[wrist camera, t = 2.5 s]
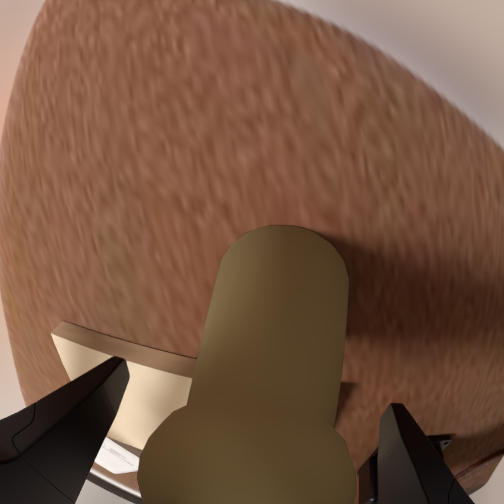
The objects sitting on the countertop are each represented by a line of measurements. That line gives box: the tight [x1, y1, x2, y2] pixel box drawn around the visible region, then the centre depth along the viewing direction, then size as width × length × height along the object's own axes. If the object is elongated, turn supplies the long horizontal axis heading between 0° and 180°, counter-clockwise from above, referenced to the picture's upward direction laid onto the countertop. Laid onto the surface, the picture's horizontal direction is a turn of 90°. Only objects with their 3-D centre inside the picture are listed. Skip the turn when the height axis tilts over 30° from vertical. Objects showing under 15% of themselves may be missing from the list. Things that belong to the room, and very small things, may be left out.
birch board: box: [51, 321, 197, 450], centre depth 20 cm, size 18×13×2 cm
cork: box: [137, 225, 356, 504], centre depth 9 cm, size 6×6×11 cm
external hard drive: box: [95, 436, 142, 474], centre depth 28 cm, size 2×8×12 cm
